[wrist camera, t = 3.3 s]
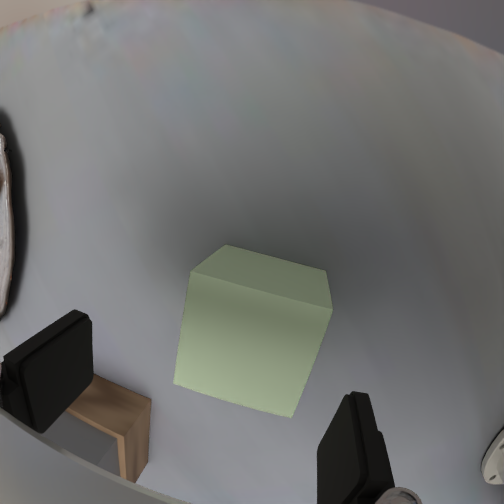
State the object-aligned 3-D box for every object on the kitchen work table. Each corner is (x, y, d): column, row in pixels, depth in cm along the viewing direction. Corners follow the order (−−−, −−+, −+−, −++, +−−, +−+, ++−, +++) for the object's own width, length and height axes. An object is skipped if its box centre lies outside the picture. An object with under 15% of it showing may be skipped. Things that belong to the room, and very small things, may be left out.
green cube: (325, 270, 18) (333, 309, 12) (297, 357, 20) (291, 418, 14) (225, 244, 19) (190, 270, 13) (207, 332, 20) (173, 383, 15)
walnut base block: (152, 397, 23) (123, 436, 18) (148, 460, 25) (127, 495, 20) (64, 356, 24) (29, 383, 19) (73, 422, 26) (47, 450, 21)
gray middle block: (117, 438, 18) (82, 484, 13) (122, 490, 20) (97, 529, 15) (34, 391, 19) (-5, 423, 14) (50, 450, 21) (21, 480, 16)
